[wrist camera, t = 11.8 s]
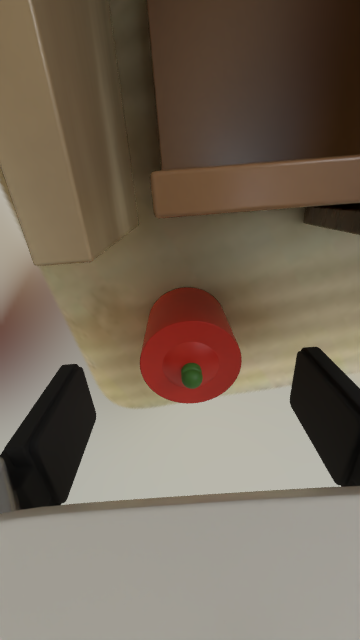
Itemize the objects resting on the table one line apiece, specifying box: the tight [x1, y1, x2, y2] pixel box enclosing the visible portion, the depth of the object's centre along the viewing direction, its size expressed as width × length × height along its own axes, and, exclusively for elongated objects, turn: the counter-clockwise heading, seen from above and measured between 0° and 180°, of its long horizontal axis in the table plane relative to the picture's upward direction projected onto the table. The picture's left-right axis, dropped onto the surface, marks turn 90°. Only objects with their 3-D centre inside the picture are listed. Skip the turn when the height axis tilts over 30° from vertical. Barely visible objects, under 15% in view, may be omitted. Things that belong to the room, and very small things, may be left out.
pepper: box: [140, 287, 241, 403], centre depth 12 cm, size 5×5×6 cm
